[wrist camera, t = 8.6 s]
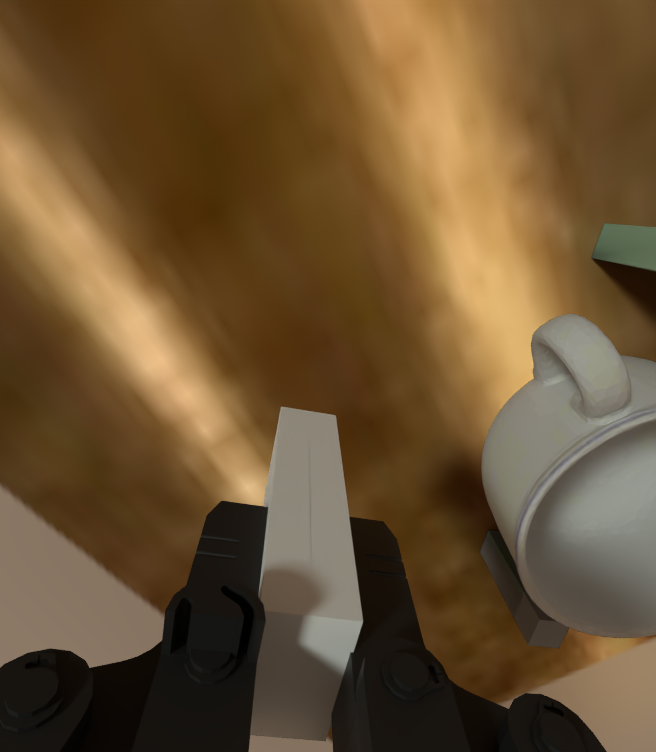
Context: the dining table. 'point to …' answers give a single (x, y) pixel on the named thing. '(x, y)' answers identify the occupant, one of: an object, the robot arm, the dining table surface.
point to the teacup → (580, 481)
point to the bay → (538, 629)
